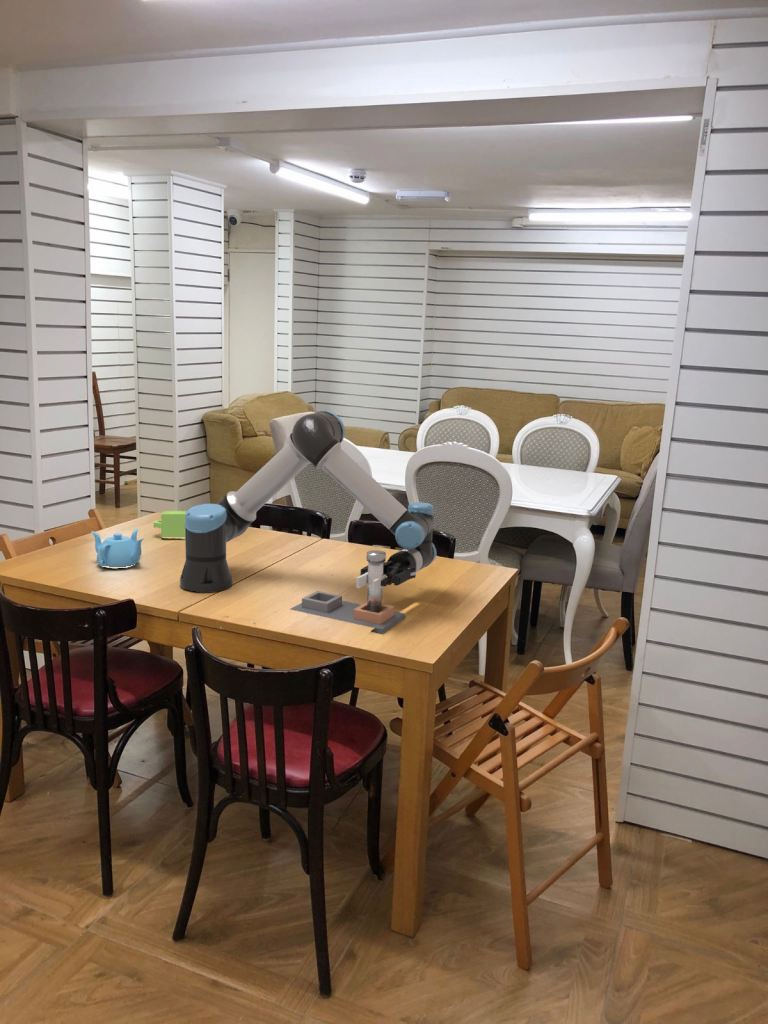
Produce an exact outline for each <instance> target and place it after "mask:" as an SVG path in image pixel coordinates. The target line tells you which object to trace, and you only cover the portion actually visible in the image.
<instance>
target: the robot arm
mask: <svg viewBox="0 0 768 1024" xmlns="http://www.w3.org/2000/svg"><path fill="white" fill-rule="evenodd" d="M344 425H345V424H344V422H343V421H342V419H341V418H340V416H338V415H337V414H335V413H334V412H331V411H327V410H319V411H315V412H313V413H310V414H305V415H303V416H302V417H300V418H299V419H298V420H297V421H296V422H295V423H294V425H293V428H292V431H291V432H290V434H289V436H288V437H289V441H288V443H287V444H285V446H284V447H282V449H280V450H279V451H278V452H277V453H276V454H275V455H273V457H272V458H271V459H270V460H268V461H267V462H266V463H265V465H263V466H262V467H261V468H260V469H259V470H258V471H257V472H256V473H255V474H254V475H253V476H252V477H251V478H249V480H248V481H246V482H245V483H244V484H243V485H242V486H241V487H240V488H239V489H237V490H236V491H228V492H227V493H226V494H224V496H222V498H221V499H220V500H219V501H218V502H217V503H201V504H197V505H194V506H192V507H190V508H188V509H187V510H186V511H187V512H186V516H185V539H184V541H185V561H184V564H183V568H182V571H181V575H180V577H179V587H180V586H181V587H182V588H184V589H187V590H190V591H189V592H192V591H196V592H195V593H216V592H220V591H221V590H222V591H224V590H227V589H230V587H231V588H232V585H233V576H232V573H231V571H230V567H229V564H228V562H227V561H228V560H227V543H228V542H229V541H231V540H233V539H236V538H238V537H240V536H241V535H243V534H244V533H245V532H246V531H247V530H248V528H249V526H250V525H251V524H252V523H253V522H255V520H256V519H257V512H258V511H259V510H260V509H261V508H262V507H263V506H264V505H266V503H268V502H269V501H270V500H272V498H274V496H275V495H276V494H278V492H280V491H281V490H282V489H283V488H284V487H285V486H286V485H287V484H288V483H290V482H291V480H293V479H294V478H295V477H296V476H297V475H299V473H300V472H302V471H303V470H304V469H305V468H306V467H307V466H308V465H309V464H311V465H312V466H313V467H315V468H316V469H317V470H318V469H322V470H323V471H324V472H326V473H327V474H328V475H329V476H330V477H331V478H332V479H333V480H334V481H335V482H336V483H338V484H339V485H340V486H341V487H342V488H343V489H344V490H346V492H347V493H349V494H350V495H351V496H352V497H353V498H354V499H355V500H356V501H357V502H358V503H359V504H360V505H361V506H362V507H364V508H365V509H366V510H367V512H369V513H370V514H371V515H373V517H374V518H376V519H377V520H378V521H379V523H381V524H382V525H383V526H384V527H385V528H387V530H388V531H390V532H391V534H393V535H394V536H395V541H396V543H397V545H398V546H399V547H401V548H402V549H401V550H399V551H397V552H395V553H393V554H391V555H390V556H389V558H388V559H387V561H385V562H384V564H383V576H380V577H379V578H377V579H375V580H373V581H372V591H376V590H378V589H380V588H382V587H383V588H384V587H386V586H392V584H393V585H394V586H395V587H396V586H400V585H401V584H403V583H405V582H407V581H409V580H410V579H415V578H416V573H417V572H419V571H420V570H422V569H425V568H427V567H428V566H431V564H432V563H433V562H434V561H435V560H436V557H437V548H436V546H435V544H434V543H433V528H434V517H435V515H434V513H435V511H434V505H433V504H431V503H428V502H423V501H422V502H420V501H416V502H415V501H414V502H411V503H409V504H408V508H406V507H405V506H404V505H403V504H402V503H401V502H400V501H398V500H397V498H395V497H394V496H393V495H392V494H391V493H390V492H389V491H388V490H386V488H384V486H383V485H381V483H380V482H378V481H377V480H376V479H375V478H374V477H372V475H370V474H369V473H368V472H367V471H366V470H365V469H364V468H363V467H362V466H361V465H359V464H358V462H357V461H355V460H354V459H353V458H352V457H351V456H350V455H348V453H346V451H344V450H343V449H342V445H341V444H342V442H343V441H344V438H345V433H346V430H345V426H344ZM359 573H360V574H359V575H358V576H357V577H356V578H355V579H356V580H355V581H356V583H355V588H357V589H361V588H362V587H364V586H367V584H368V565H366V566H364V567H362V568H361V569H360V572H359ZM181 587H180V588H181ZM182 588H181V589H182ZM184 589H183V590H184ZM187 590H186V591H187ZM214 591H215V592H214Z"/></svg>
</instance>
